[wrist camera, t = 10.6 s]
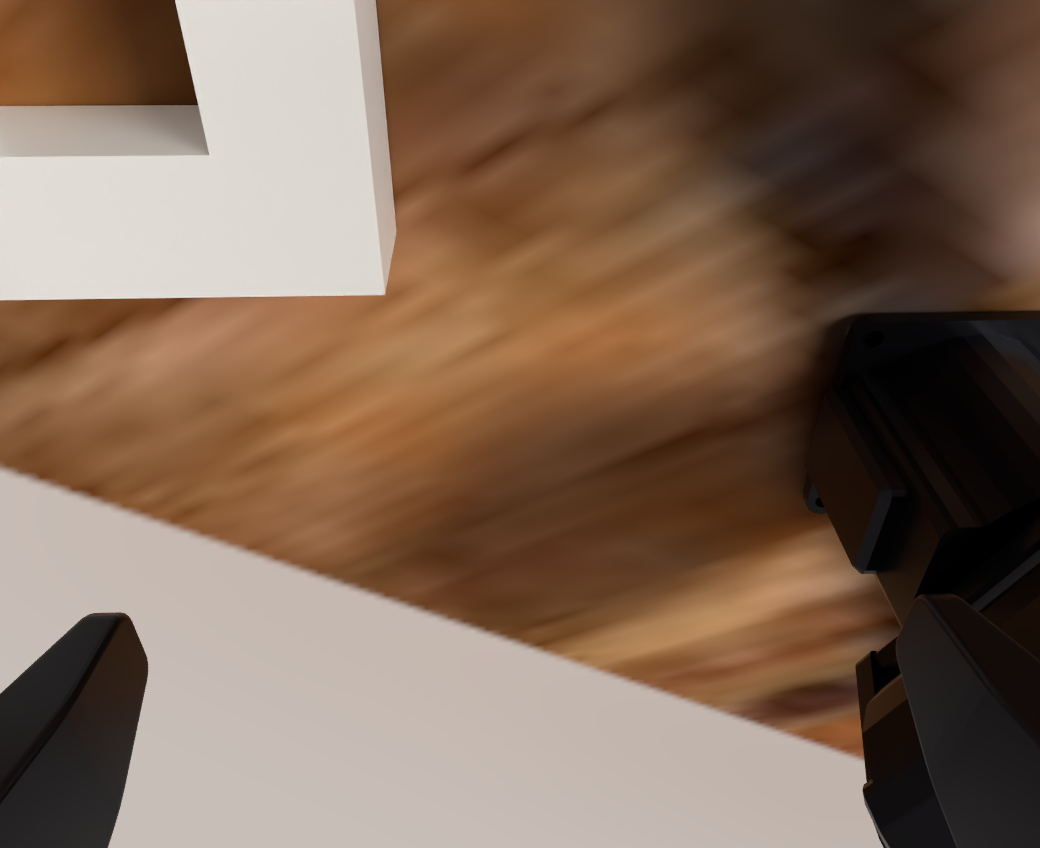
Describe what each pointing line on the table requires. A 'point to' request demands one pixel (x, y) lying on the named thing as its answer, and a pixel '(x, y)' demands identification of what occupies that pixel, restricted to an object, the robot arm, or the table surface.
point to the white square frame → (213, 169)
